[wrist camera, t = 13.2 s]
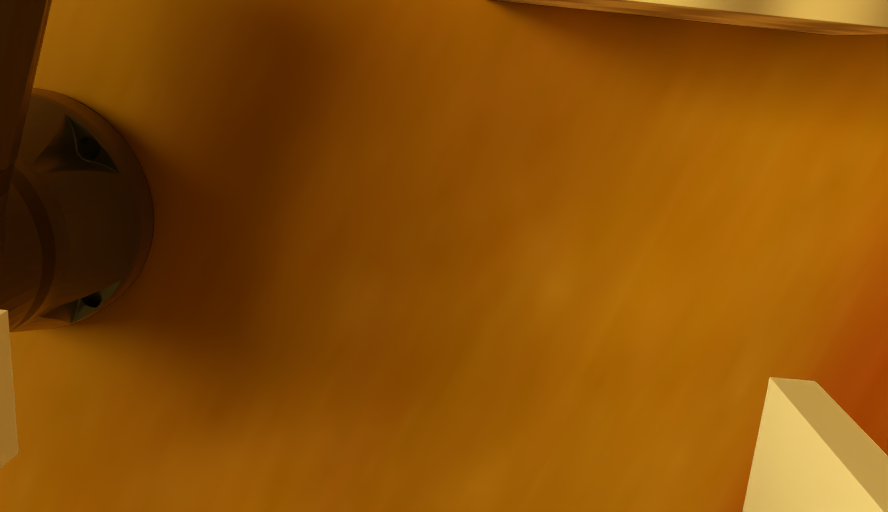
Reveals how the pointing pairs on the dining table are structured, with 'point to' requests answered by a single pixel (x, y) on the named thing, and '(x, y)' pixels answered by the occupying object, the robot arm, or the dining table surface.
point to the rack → (753, 13)
